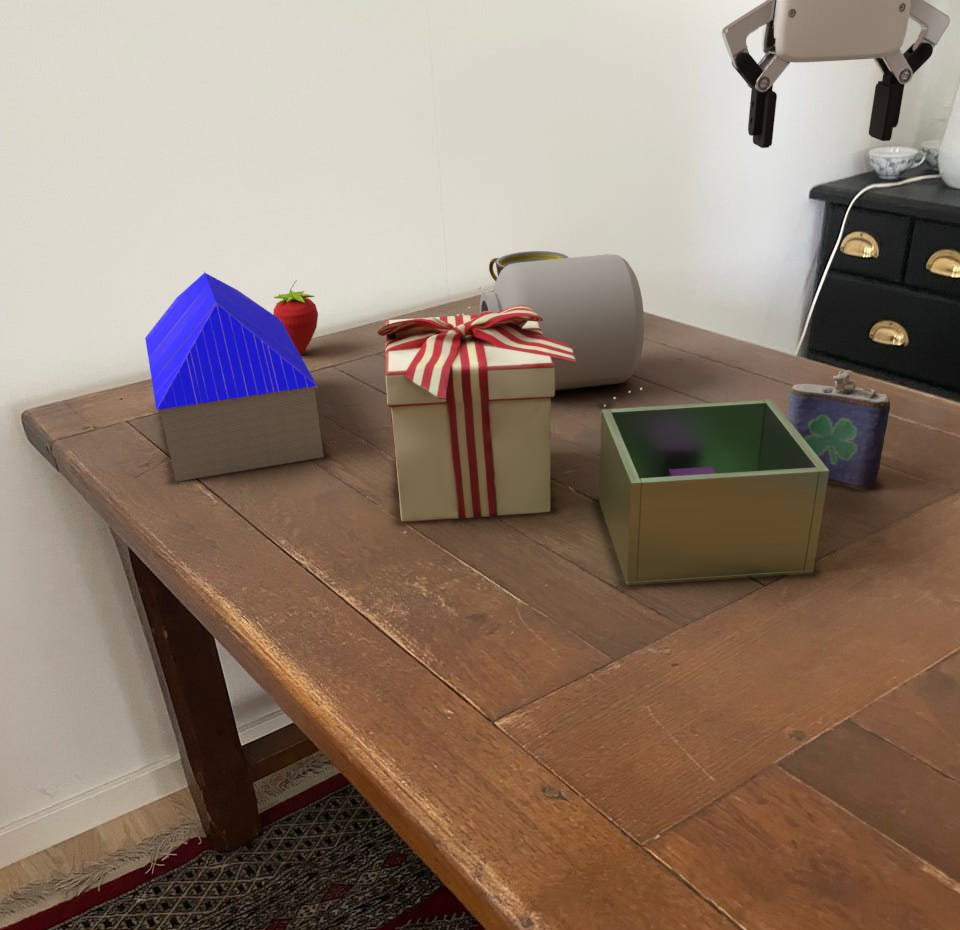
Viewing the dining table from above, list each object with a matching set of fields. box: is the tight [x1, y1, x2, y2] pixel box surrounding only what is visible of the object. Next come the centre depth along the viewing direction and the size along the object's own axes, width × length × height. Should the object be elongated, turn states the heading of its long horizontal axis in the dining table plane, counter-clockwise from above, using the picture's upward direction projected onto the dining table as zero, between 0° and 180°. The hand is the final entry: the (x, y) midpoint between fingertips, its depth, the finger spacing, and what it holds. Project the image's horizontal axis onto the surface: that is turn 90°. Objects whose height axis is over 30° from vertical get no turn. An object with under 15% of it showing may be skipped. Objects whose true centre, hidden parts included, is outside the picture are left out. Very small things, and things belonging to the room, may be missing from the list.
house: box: [144, 270, 324, 482], centre depth 113 cm, size 25×16×16 cm, turn 18°
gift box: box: [377, 305, 576, 523], centre depth 96 cm, size 17×18×17 cm
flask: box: [786, 370, 891, 491], centre depth 97 cm, size 9×3×11 cm, turn 58°
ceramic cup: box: [488, 250, 571, 282], centre depth 140 cm, size 13×10×10 cm
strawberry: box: [272, 279, 319, 356], centre depth 136 cm, size 6×8×10 cm
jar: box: [456, 253, 645, 408], centre depth 120 cm, size 19×15×25 cm
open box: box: [598, 398, 829, 586], centre depth 89 cm, size 16×16×10 cm
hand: (820, 141), depth 83 cm, fingers open, 9 cm apart
